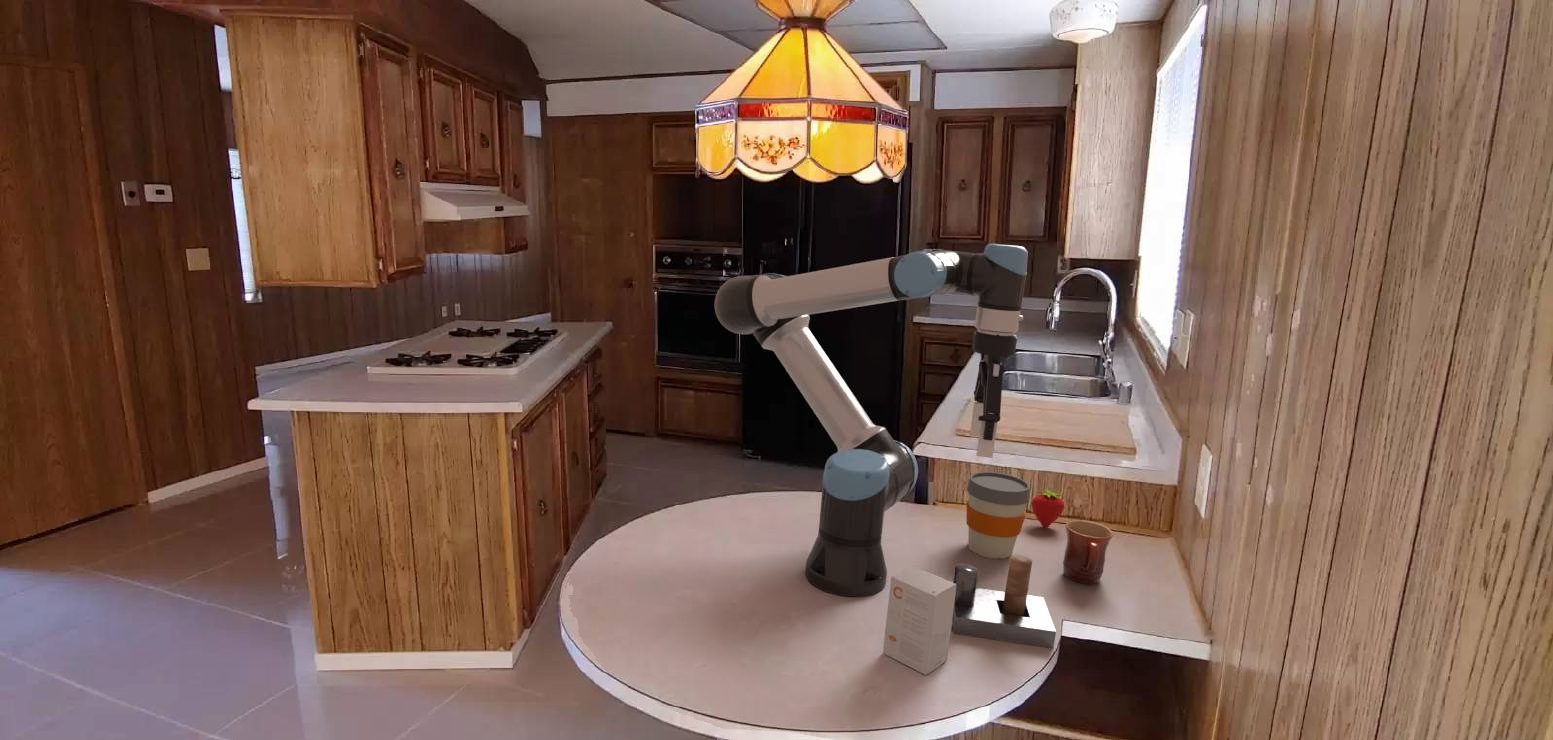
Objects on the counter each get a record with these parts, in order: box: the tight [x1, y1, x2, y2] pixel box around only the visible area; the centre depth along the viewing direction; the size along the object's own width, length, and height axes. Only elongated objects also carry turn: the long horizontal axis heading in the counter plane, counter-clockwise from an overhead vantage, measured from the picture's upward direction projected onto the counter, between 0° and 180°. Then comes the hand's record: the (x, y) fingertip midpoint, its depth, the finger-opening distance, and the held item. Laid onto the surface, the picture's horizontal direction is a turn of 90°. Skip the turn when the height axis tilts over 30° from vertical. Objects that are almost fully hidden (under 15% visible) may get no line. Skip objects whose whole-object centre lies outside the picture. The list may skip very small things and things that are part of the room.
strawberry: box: [1031, 484, 1065, 528], centre depth 181 cm, size 6×8×10 cm
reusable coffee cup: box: [965, 471, 1031, 559], centre depth 166 cm, size 13×13×15 cm
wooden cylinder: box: [1002, 554, 1033, 617], centre depth 135 cm, size 4×4×12 cm
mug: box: [1062, 519, 1114, 585], centre depth 155 cm, size 12×9×10 cm
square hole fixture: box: [952, 563, 1057, 649], centre depth 136 cm, size 16×12×9 cm
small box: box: [882, 566, 957, 676], centre depth 123 cm, size 8×6×13 cm
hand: (980, 446), depth 147 cm, fingers open, 13 cm apart
